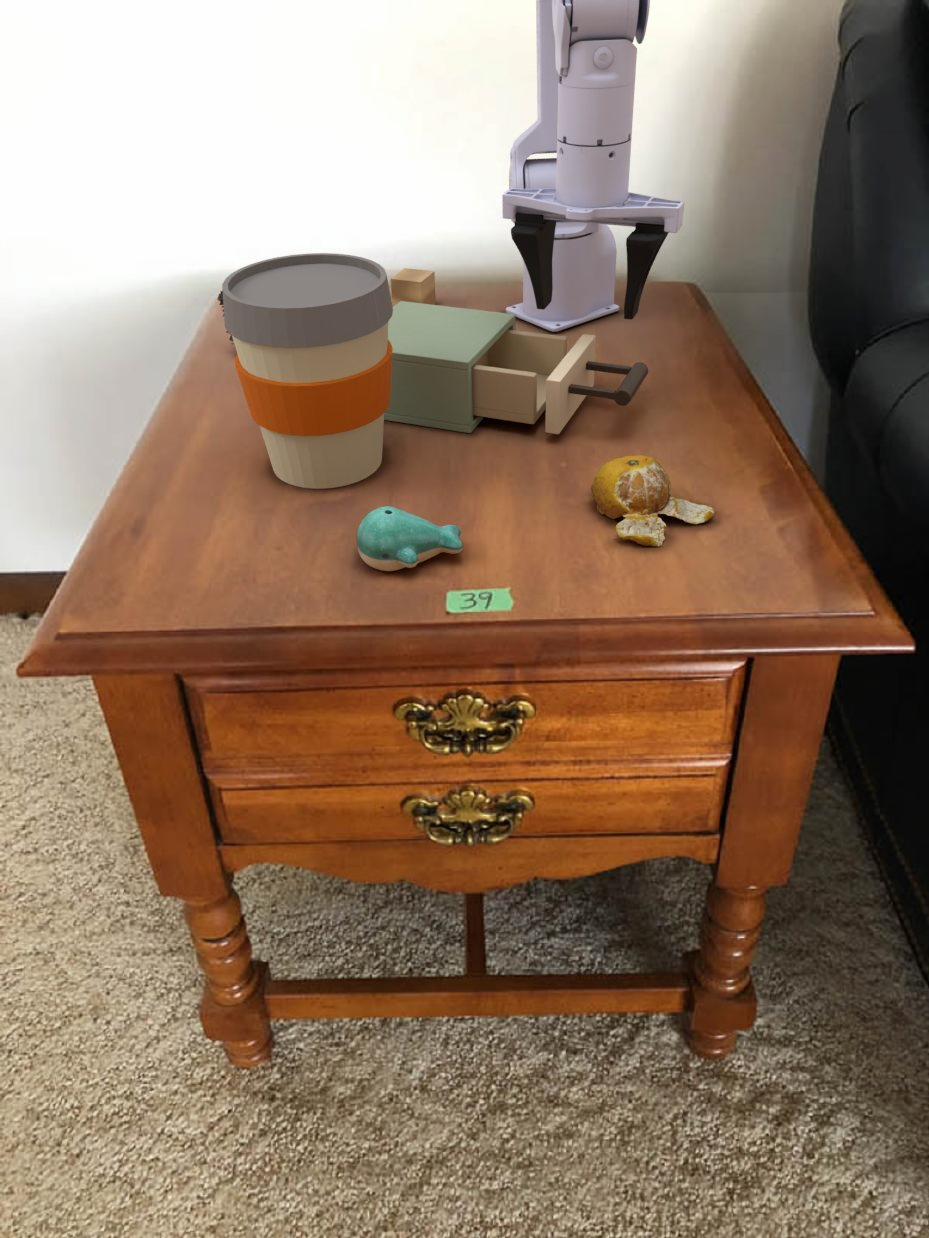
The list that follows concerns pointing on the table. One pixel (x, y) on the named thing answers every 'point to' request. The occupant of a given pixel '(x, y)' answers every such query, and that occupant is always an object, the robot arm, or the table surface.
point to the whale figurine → (403, 539)
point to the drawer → (544, 378)
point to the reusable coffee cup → (314, 362)
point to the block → (413, 286)
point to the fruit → (641, 499)
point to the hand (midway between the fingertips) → (586, 310)
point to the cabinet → (438, 362)
